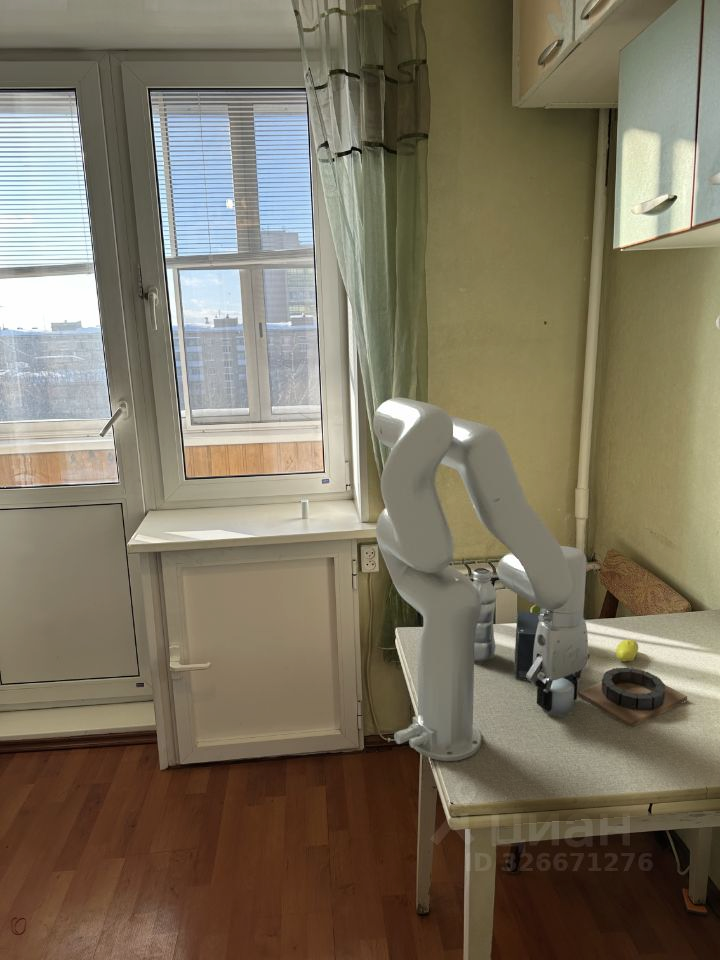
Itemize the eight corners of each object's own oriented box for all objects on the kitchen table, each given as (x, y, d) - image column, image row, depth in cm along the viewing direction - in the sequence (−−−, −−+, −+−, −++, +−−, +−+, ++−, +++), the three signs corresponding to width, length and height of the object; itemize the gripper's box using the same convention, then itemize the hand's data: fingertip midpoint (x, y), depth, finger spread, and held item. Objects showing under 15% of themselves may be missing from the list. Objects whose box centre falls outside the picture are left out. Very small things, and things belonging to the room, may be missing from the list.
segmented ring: (637, 717, 124) (639, 704, 123) (589, 689, 133) (590, 677, 132) (676, 698, 129) (677, 687, 128) (627, 673, 138) (628, 662, 138)
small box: (548, 682, 137) (550, 634, 135) (514, 679, 139) (516, 632, 136) (544, 656, 148) (547, 612, 145) (514, 654, 149) (515, 610, 146)
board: (630, 727, 122) (631, 722, 122) (578, 696, 132) (578, 691, 132) (686, 700, 130) (687, 696, 130) (633, 673, 140) (633, 669, 140)
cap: (556, 719, 125) (558, 696, 124) (533, 703, 130) (534, 681, 129) (580, 709, 128) (581, 686, 127) (556, 694, 133) (557, 672, 132)
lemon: (642, 654, 148) (644, 637, 147) (629, 669, 142) (631, 652, 141) (623, 648, 150) (624, 632, 150) (609, 662, 145) (610, 646, 144)
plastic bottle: (462, 663, 146) (463, 575, 141) (467, 648, 152) (469, 563, 147) (492, 667, 144) (495, 578, 139) (497, 652, 150) (499, 566, 145)
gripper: (542, 634, 117) (537, 726, 122) (610, 610, 126) (604, 697, 130) (511, 618, 124) (508, 706, 128) (578, 596, 132) (573, 680, 136)
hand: (556, 701), depth 129 cm, fingers closed on cap, 5 cm apart
